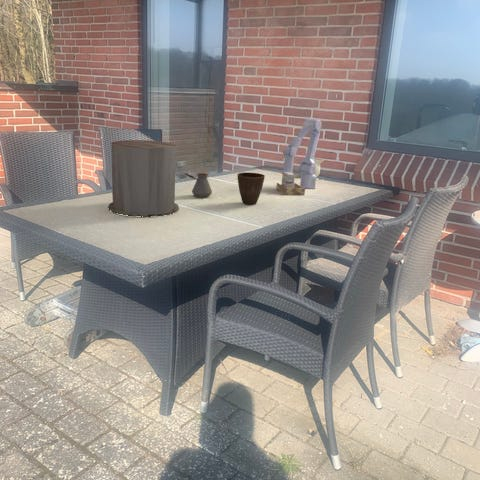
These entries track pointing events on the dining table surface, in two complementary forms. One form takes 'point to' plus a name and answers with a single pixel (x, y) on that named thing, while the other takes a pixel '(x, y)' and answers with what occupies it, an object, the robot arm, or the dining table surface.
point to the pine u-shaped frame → (291, 190)
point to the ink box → (288, 180)
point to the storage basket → (143, 178)
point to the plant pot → (250, 187)
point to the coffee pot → (201, 186)
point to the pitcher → (317, 166)
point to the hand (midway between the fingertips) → (286, 187)
